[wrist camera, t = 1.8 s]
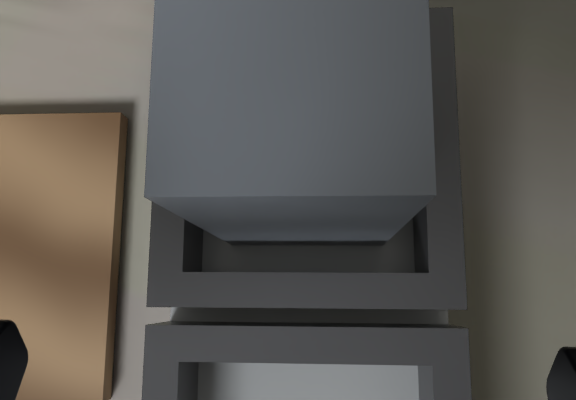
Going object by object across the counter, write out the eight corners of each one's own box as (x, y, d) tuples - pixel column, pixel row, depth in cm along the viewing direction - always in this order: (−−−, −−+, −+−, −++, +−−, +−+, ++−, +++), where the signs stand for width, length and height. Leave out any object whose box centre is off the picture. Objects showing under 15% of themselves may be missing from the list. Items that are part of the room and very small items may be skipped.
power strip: (444, 688, 18) (493, 852, 13) (178, 673, 19) (120, 823, 14) (421, 66, 22) (451, -8, 17) (201, 71, 23) (162, 1, 17)
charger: (383, 245, 18) (436, 195, 9) (232, 245, 18) (144, 197, 10) (379, 100, 19) (426, -73, 10) (235, 103, 19) (158, -63, 10)
